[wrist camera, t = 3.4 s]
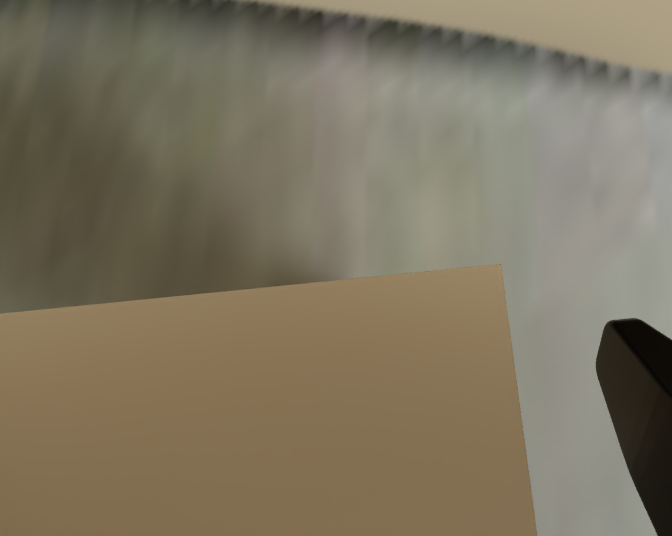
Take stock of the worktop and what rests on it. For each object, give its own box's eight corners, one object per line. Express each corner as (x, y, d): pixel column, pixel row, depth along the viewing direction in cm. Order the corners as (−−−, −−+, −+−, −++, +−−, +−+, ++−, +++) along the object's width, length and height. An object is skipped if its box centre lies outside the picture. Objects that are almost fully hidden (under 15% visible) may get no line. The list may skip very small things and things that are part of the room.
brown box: (407, 469, 15) (615, 1035, 3) (265, 482, 15) (-154, 1078, 3) (392, 326, 16) (506, 253, 3) (254, 339, 16) (-144, 318, 3)
